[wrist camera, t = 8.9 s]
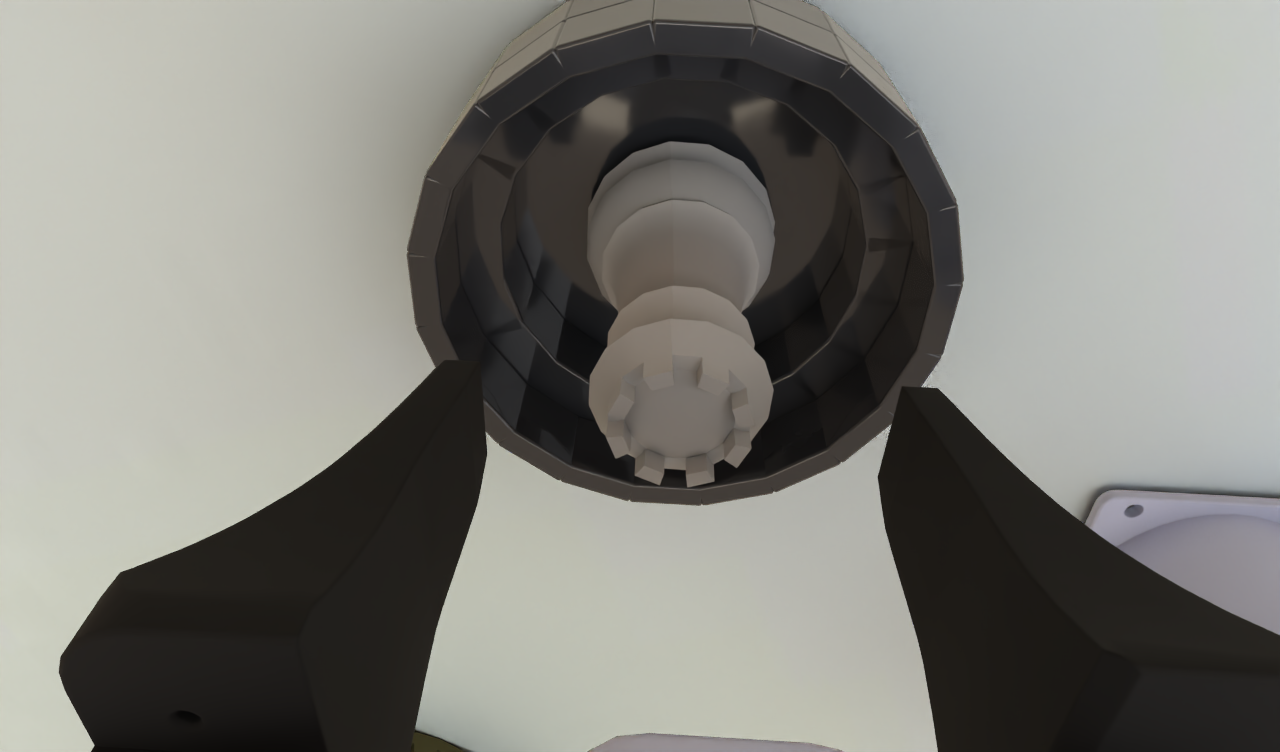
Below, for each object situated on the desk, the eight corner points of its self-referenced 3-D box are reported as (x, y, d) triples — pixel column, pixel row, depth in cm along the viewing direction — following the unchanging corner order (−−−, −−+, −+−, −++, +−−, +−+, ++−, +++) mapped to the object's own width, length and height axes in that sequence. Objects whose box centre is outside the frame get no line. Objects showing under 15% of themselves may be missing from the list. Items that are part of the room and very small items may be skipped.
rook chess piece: (573, 144, 20) (523, 332, 14) (768, 122, 20) (812, 305, 13) (602, 310, 23) (571, 534, 16) (777, 294, 22) (816, 518, 16)
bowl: (966, -19, 19) (1035, 39, 15) (865, 405, 25) (896, 518, 21) (434, -47, 19) (373, 4, 15) (470, 383, 25) (435, 492, 22)
